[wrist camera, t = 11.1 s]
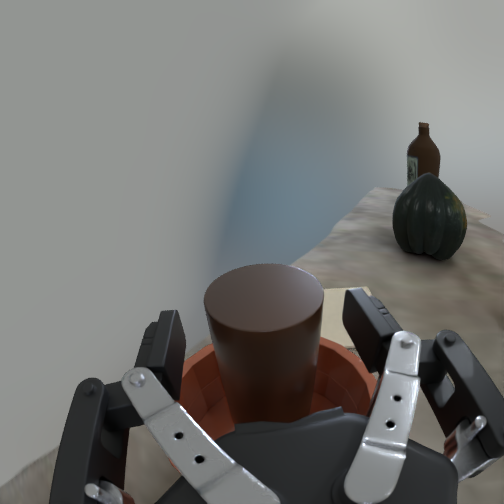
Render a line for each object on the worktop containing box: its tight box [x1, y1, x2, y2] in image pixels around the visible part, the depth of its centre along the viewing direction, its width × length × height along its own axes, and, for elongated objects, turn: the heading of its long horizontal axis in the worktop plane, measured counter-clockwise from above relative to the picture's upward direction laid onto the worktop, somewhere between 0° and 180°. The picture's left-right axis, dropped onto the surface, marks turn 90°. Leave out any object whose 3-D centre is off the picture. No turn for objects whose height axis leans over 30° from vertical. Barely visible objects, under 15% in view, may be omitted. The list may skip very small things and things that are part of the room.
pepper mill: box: [204, 264, 324, 427], centre depth 14 cm, size 5×5×14 cm
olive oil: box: [407, 122, 440, 186], centre depth 64 cm, size 11×11×25 cm
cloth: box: [321, 287, 371, 349], centre depth 30 cm, size 11×11×1 cm
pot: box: [169, 336, 377, 475], centre depth 16 cm, size 14×14×6 cm
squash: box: [393, 172, 467, 260], centre depth 41 cm, size 14×15×15 cm
